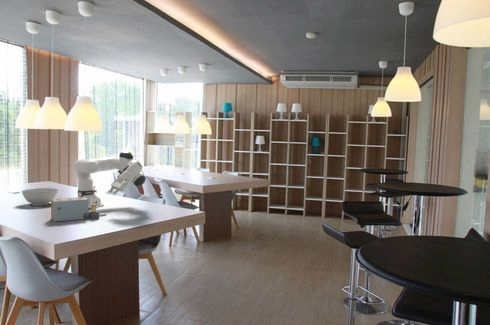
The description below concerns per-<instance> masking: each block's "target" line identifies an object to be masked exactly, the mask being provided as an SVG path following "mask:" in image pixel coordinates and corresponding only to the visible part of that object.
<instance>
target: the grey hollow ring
mask: <svg viewBox="0 0 490 325" xmlns="http://www.w3.org/2000/svg"><path fill="white" fill-rule="evenodd" d="M98 219H100V211H98V210H96V213H91V211H88V213H84V219H83V220H98Z"/></svg>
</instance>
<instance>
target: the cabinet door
mask: <svg viewBox="0 0 490 325" xmlns="http://www.w3.org/2000/svg"><path fill="white" fill-rule="evenodd" d="M88 212H89V208H88V199H79V200H63V201H54V221H53V222H64V221H75V220H84V213H88Z"/></svg>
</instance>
